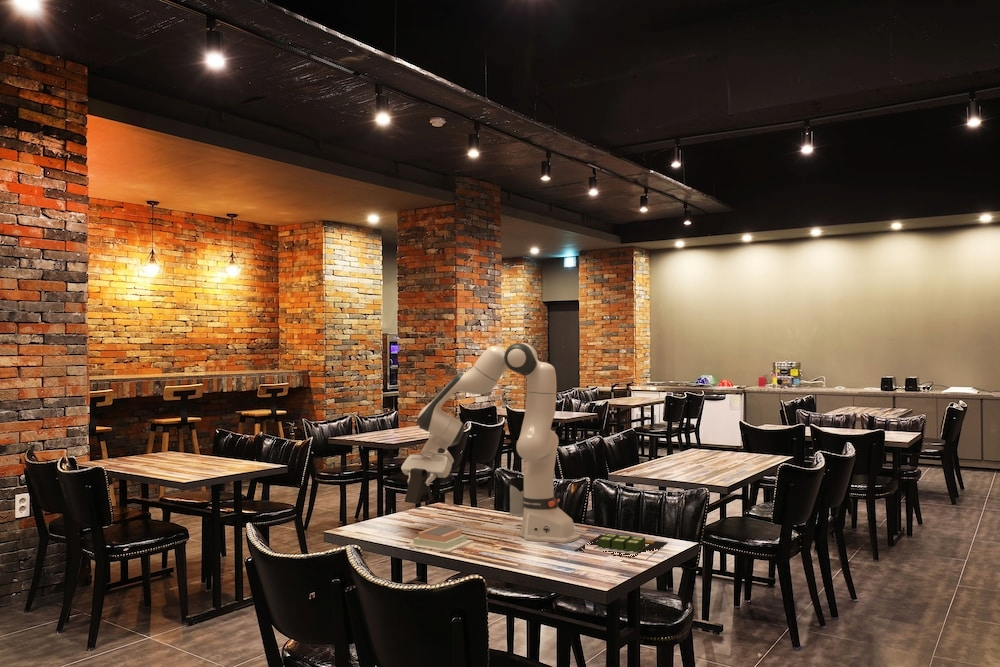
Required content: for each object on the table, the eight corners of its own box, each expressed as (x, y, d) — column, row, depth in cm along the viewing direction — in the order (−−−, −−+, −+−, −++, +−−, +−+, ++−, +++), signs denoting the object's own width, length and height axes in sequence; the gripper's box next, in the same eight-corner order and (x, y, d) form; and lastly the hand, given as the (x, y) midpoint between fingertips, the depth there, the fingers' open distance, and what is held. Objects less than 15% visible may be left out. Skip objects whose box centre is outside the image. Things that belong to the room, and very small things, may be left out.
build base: (473, 541, 264) (473, 528, 265) (448, 552, 251) (448, 538, 251) (432, 536, 273) (432, 523, 274) (406, 545, 260) (406, 532, 260)
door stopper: (422, 498, 281) (421, 466, 281) (433, 500, 277) (432, 468, 277) (404, 502, 274) (404, 469, 274) (415, 504, 270) (415, 471, 270)
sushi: (667, 544, 261) (667, 534, 261) (645, 562, 239) (645, 550, 239) (601, 537, 273) (601, 526, 273) (574, 553, 251) (574, 542, 251)
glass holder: (504, 514, 310) (504, 478, 311) (532, 510, 318) (531, 475, 319) (516, 517, 303) (516, 481, 304) (544, 513, 311) (544, 477, 311)
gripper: (407, 447, 287) (391, 476, 278) (451, 450, 277) (436, 480, 268) (414, 458, 291) (399, 486, 282) (457, 461, 281) (443, 491, 272)
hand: (417, 484), depth 275 cm, fingers closed on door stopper, 6 cm apart
